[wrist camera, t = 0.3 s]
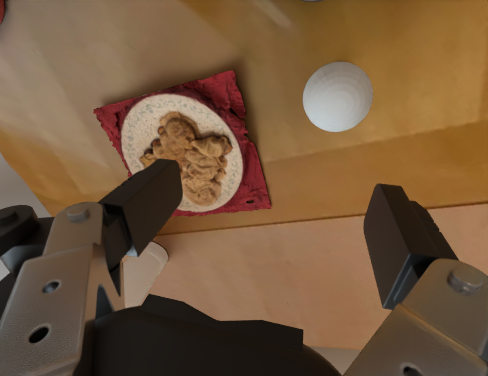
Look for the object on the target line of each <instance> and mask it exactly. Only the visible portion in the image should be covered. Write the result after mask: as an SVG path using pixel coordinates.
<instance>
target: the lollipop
mask: <svg viewBox="0 0 488 376" xmlns="http://www.w3.org/2000/svg"><path fill="white" fill-rule="evenodd" d="M372 100H373V88H372V85H371V82H370V79H369V78H368V76H367V74H366V73H365V72H364V71H363V70H362V69H361V68H360V67H358V66H356V65H354V64H352V63H349V62H342V61H341V62H333V63H329V64H326V65H324V66H322V67H321V68H319V69H318V70H317V71H315V72H314V73H313V75H312V76H311V77H310V78H309V80H308V82H307V83H306V86H305V88H304V93H303V105H304V110H305V112H306V114H307V116H308V118H309V119H310V121H311V122H312V123H313V124H314V125H316V126H317V127H319V128H320V129H323V130H326V131H331V132H340V131H345V130H348V129H350V128H352V127H354V126H356V125H357V124H358V123H360V122H361V121H362V120H363V119H364V118H365V116H366V115H367V113H368V112H369V110H370V108H371V104H372Z"/></svg>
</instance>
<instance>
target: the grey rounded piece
mask: <svg viewBox="0 0 488 376" xmlns="http://www.w3.org/2000/svg"><path fill="white" fill-rule="evenodd" d="M302 1H306V2H318V1H322V0H302Z"/></svg>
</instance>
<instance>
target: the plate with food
mask: <svg viewBox="0 0 488 376" xmlns="http://www.w3.org/2000/svg"><path fill="white" fill-rule="evenodd" d="M235 82H236V76H235V73H234V71H232V70H231V71H227V72H223V73H219V74H215V75H213V76H211V77H209V78H207V79H204V80H198V79H197V80H194V81H191V82H188V83H184V84H180V85H177V86H173V87H170V88H167V89H163V90H159V91H158V92H155V93H151V94H145V95H142V96H138V97H135V98H132V99H129V100H125V101H122V102H118V103H114V104H110V105H107V106H104V107H100V108H97V109H94V112H93V113H94V114H96V115H97V119H98V121H100V123H101V127H102V128H103V129H104V130H105V131H106V132H107V135H108V137H109V139H110V141H112V142H113V145H112V146H113V147H116V150H117V151H118V153H119V154H120V156H121V158H122V161H123V162H124V164H125V167H126V168H127V169H128V170H129V172H128V176H130V177H131V176H132V175H133V174H135V173H136V172H138V171H141V170H143V169H145V168H147V167H148V166H150V165H151V164H152V163H153V162H154V161H156V160H157V159H159V158H162V159H171V160H176V161H177V162H178V163H179V167H180V174H181V181H182V188H183V198H182V201H181V203H180V205H179V206H178V208H177V209H176V210H175V211H174V213H173V214H172V215H171V216H182V215H185V216H188V217H191V216H194V215H200V216H202V215H207V214H217V213H223V212H227V213H229V212H231V213H234V212H238V211H253V210H257V209H271V203H270V201H269V197H268V193H267V190H266V184H265V181H264V177H263V173H262V170H261V166H260V162H259V158H258V155H257V150H256V147H255V145H254V144H253V143H252V142H251V141H250V140H249V139H248V138H247V137H246V136H244V133H248V130H247V129H246V128H244V127H245V123H244V121H242V120H241V119H239V118H237V117H236V116H235V115H234V114H232V113H231V112H230V110H229V108H230V107H231V108H232V109H233V110H234V112H236V113H237V115H238V117H240V118H244V117H245V116H246V113H245V108H244V104H243V101H242V96H241V94H240V92H239V90H238V88H237V86H236V84H235ZM249 200H253V201H254V203H251V204H248V203H246V201H249Z"/></svg>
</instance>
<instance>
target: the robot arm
mask: <svg viewBox="0 0 488 376" xmlns="http://www.w3.org/2000/svg"><path fill="white" fill-rule="evenodd" d="M182 198H183V188H182V181H181V174H180V167H179V163H178V162H177V161H176V160H171V159H162V158H159V159H157V160H156V161H154V162H153V163H152V164H151V165H150V166H148V167H147V168H145V169H143V170H141V171H138V172H136V173H135V174H133V175H132V176H131V177H129V178H128V180H126V181H124V182H123V183H122V184H121V186H118V187H117V188H115V189H114V190H113V191H112V192H110V193H109V194H108V195H106V196H105V197H104V198H103V199H101V200H100V201H99V202H82V203H78V204H74V205H72V206H69V207H67V208H65V209H63V210H62V211H60V212H59V213H58V214H57V215H56V216H55V217H47V218H38V217H37V215H36V213H35V212H34V210H33V208H32V207H30V206H27V205H17V206H11V207H7V208H4V209H1V210H0V259H1V260H2V262H3V263H4V265H5V266H6V267H7V269H8V270H9V271H10V273H9V274H8V275H7V276H6V277H4V278H3V279H2V280H1V281H0V376H342V375H341V374H340V373H339V372H338V370H336V368H335V367H334V366H333V365H332V364H331V363H330V362H329V361H327V360H326V359H325V358H324V357H323V356H321V355H320V354H319V353H317V352H316V351H314V350H313V349H311V348H310V347H308V346H306V345H304V344H303V330H302V329H298V328H294V327H289V326H285V325H281V324H277V323H272V322H268V321H264V320H243V321H218V320H215V319H213V318H211V317H210V316H208V315H206V314H204V313H202V312H201V311H199V310H197V309H195V308H193V307H192V306H190V305H188V304H186V303H185V302H182V301H178V300H173V299H169V298H165V297H160V296H156V295H152V294H148V296H147V298H146V299H145V301H144V302H143V304H142V305H141V306H134V307H128V308H125V295H124V269H123V262H122V258H123V257H124V256H125V255H129V256H134V257H139V256H140V255H141V253H142V252H143V251H144V249H145V248H146V247H147V246H148V244H149V243H150V242H151V241H152V239H153V238H154V237H155V235H156V234H157V233H158V232H159V230H160V229H161V228H162V227H163V225H164V224H165V223H166V222H167V220H168V219H169V218H170V216H171V215H172V214H173V213H174V211H175V210H176V209H177V208H178V206H179V205H180V203H181V201H182ZM364 235H365V239H366V243H367V247H368V251H369V255H370V259H371V263H372V267H373V271H374V275H375V279H376V283H377V287H378V291H379V295H380V299H381V303H382V307H383V308H385V309H390V310H392V312H391V313H390V314H389V315H388V317H387V318H386V319H385V321H384V322H383V323H382V325H381V326H380V327H379V329H378V330H377V331H376V333H375V334H374V335H373V336H372V338H371V339H370V340H369V342H368V343H367V344H366V346H365V347H364V348H363V350H362V351H361V352H360V354H359V355H358V356H357V357H356V359H355V360H354V361H353V363H352V364H351V365H350V367H349V368H348V369H347V371H346V372H345V373H344V375H343V376H488V276H487V275H485V274H484V273H483V272H481V271H480V270H478V269H476V268H474V267H473V266H471V265H468V264H466V263H463V262H461V261H459V260H458V258H457V257H456V255H455V253H454V252H453V250H452V249H451V247H450V246H449V244H448V242H447V241H446V239H445V238H444V236H443V235H442V233H441V232H439V228H438V227H437V225H436V224H435V223H434V220H433V219H432V217H431V216H430V214H429V213H428V211H427V210H426V209H424V208H423V207H422V206H421V205H419V204H418V203H417V202H416V201H409V199H408V197H407V195H406V194H405V192H404V190H403V188H402V187H401V186H396V185H387V184H377V185H376V186H375V188H374V191H373V194H372V197H371V200H370V203H369V206H368V209H367V212H366V215H365V219H364Z"/></svg>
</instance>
